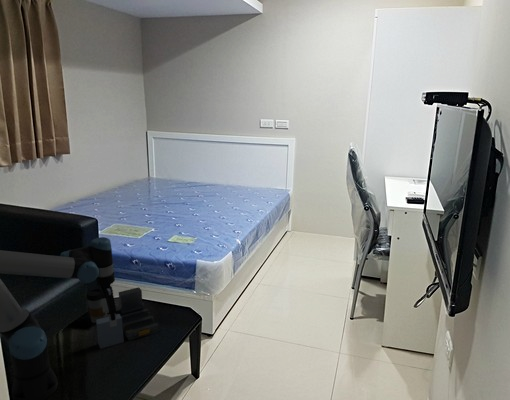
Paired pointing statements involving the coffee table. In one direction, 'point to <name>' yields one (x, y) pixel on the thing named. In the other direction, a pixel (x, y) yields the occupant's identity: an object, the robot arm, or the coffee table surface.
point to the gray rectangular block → (109, 332)
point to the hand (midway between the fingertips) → (109, 318)
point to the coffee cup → (95, 305)
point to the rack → (135, 315)
